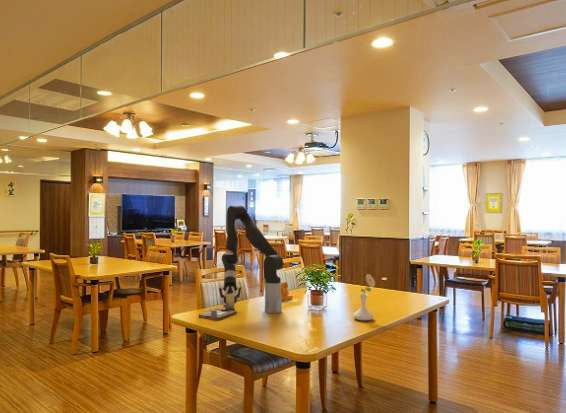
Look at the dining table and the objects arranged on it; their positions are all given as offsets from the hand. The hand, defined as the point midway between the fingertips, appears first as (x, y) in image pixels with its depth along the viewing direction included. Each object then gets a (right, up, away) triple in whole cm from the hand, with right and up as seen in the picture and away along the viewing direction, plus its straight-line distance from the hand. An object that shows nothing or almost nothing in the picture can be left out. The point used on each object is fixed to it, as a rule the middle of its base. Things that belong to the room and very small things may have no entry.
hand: (230, 302), depth 248 cm
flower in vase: (+77, -5, -17) cm, 79 cm away
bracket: (+32, -6, +35) cm, 48 cm away
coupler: (0, -5, +2) cm, 5 cm away
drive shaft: (-3, -3, -6) cm, 7 cm away
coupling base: (-5, -4, -12) cm, 14 cm away
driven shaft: (-6, -3, -18) cm, 20 cm away
